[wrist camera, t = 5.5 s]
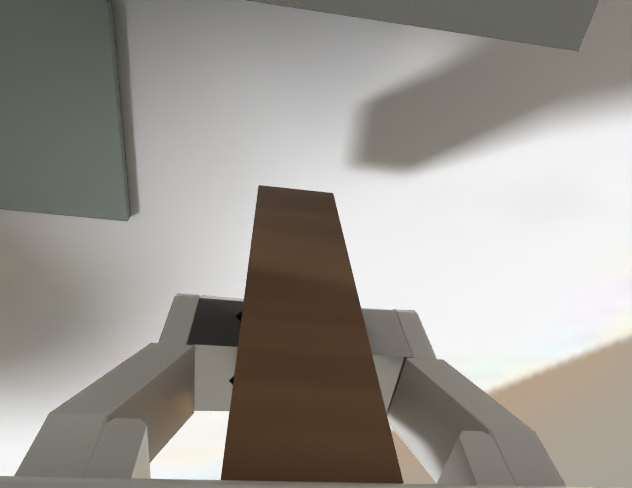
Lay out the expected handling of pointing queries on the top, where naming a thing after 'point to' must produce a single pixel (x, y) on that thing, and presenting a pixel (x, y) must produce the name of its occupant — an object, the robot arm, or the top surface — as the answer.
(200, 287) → the top surface
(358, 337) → the brown wooden bar
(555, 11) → the box
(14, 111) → the pad
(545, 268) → the top surface
